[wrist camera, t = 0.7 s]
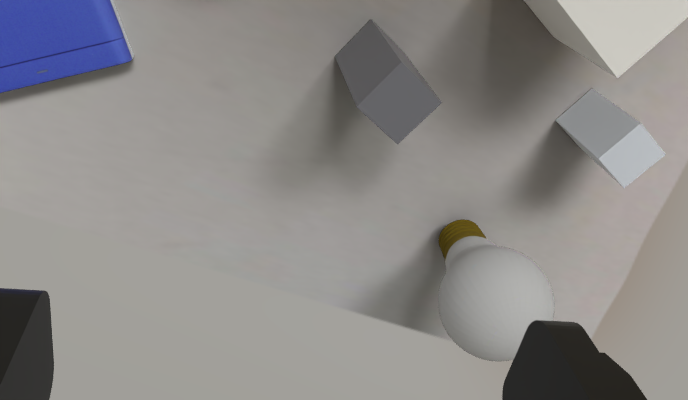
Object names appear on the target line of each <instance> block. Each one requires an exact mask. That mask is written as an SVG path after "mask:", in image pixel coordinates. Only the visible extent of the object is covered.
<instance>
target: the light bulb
mask: <svg viewBox="0 0 688 400" xmlns="http://www.w3.org/2000/svg"><path fill="white" fill-rule="evenodd" d="M439 246H440V248H441V251H442V253H443V256H444V258H445V267H446V273H445V275H444V277H443V279H442V282H441V285H440V288H439V295H438V308H439V314H440V318H441V321H442V324H443V326H444V328H445V330H446V331H447V333H448V335H449V336H450V337H451V338H452V340H453V341H454V342H455V343H456V344H457V345H458V346H459V347H461V348H462V349H463V350H464V351H466V352H468V353H469V354H471V355H473V356H475V357H478V358H481V359H484V360H489V361H509V360H513V359H514V358H515V355H516V353H517V351H518V348H519V346H520V344H521V341H522V339H523V337H524V334H525V332H526V330H527V328H528V326H529V325H530V323H532V322H533V321H535V320H543V321H553V317H554V307H555V303H554V296H553V291H552V288H551V285H550V283H549V280H548V279H547V277H546V275H545V274H544V272H543V271H542V269H541V268H540V267H539V266H538V265H537V264H536V263H535V262H534V261H533V260H532V259H530V258H529V257H527V256H526V255H524V254H523V253H521V252H518V251H516V250H513V249H510V248H506V247H500V246H497V245H496V244H495V243H493V242H492V241H490V240H488V239H487V238H486V237H485V235H484V234H483V233H482V231H481V230H480V228H479V227H478V226H477V225H476V224H475V223H474V222H472V221H469V220H457V221H454V222H452V223H450V224H448V225H447V226H446V227H445V228H444V229H443V230H442V232H441V234H440V236H439Z"/></svg>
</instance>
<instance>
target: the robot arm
mask: <svg viewBox="0 0 688 400" xmlns="http://www.w3.org/2000/svg"><path fill="white" fill-rule="evenodd" d="M53 371H54V359H53V343H52V328H51V312H50V299H49V295H48V293H47V292H46V291H39V290H20V289H4V288H0V400H49V398H50V393H51V388H52V381H53ZM503 400H647V399H646V397H645V396H644V395H643V393H642V392H641V390H640V389H639V387H638V386H637V384H636V383H635V381H634V380H633V379H632V377H631V376H630V375H629V374H628V373H627V372H626V371H625V370H624V369H623V368H621V367H620V366H619V365H618V364H617V363H616V362H614V361H613V360H612V359H611V358H610V357H609V356H608V355H606V354H605V353H599V351H598V350H597V348H596V347H595V345H594V344H593V342H592V341H591V339H590V338H589V336H588V335H587V333H586V332H585V330H584V329H583V327H582V326H581V325H579V324H578V323H575V322H561V321H543V320H535V321H533V322H532V323H530V325H529V326H528V328H527V330H526V332H525V334H524V337H523V339H522V341H521V344H520V346H519V348H518V351H517V353H516V355H515V358H514V360H513V363H512V365H511V367H510V370H509V372H508V374H507V377H506V379H505V382H504V386H503Z"/></svg>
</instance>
